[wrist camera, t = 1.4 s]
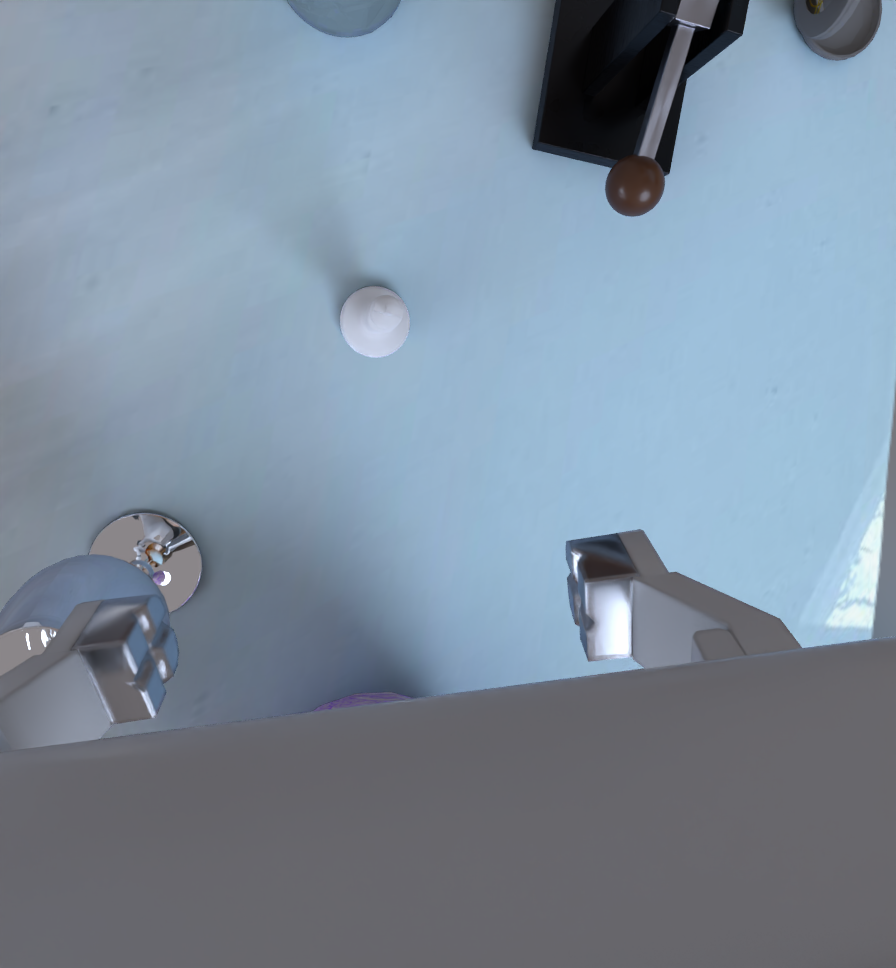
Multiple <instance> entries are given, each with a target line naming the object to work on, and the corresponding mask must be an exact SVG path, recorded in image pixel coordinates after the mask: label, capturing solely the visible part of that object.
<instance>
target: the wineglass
mask: <svg viewBox="0 0 896 968" xmlns="http://www.w3.org/2000/svg"><path fill="white" fill-rule="evenodd" d="M202 568H203V564H202V556H201V552H200V549H199V546H198V544H197V543H196V541H195V539H194V537H193V536H192V535H191V534H190V533H189V531H188V530H187V529H186V528H185V527H183V526H182V525H181V524H179V523H178V522H176V521H174V520H173V519H171V518H169V517H166V516H163V515H159V514H154V513H134V514H130V515H126V516H123V517H121V518H118V519H116V520H114V521H112V522H111V523H110V524H108V525H107V526H106V527H104V528H103V529H102V531H101V532H100V533H99V534H98V535H97V536H96V538H95V540H94V541H93V543H92V545H91V548H90V551H89V554H88V555H78V556H74V557H71V558H67V559H63V560H61V561H59V562H57V563H55V564H53V565H51V566H48V567H46V568H44V569H42V570H41V571H39V572H38V573H37V574H35V575H34V576H32V577H31V578H30V579H29V580H28V581H27V582H25V583H24V584H23V585H22V586H21V587H20V589H19V590H18V591H17V592H16V593H15V594H14V595H13V596H12V597H11V598H10V599H9V601H8V602H7V603H6V604H5V606H4V607H3V609H2V610H1V612H0V676H2V675H3V674H5V673H7V672H8V671H10V670H11V669H13V668H15V667H16V666H18V665H19V664H21V663H23V662H24V661H26V660H27V659H29V658H31V657H32V656H34V655H41V654H42V653H43V652H44V650H45V649H46V647H47V646H48V645H49V643H50V642H51V640H52V639H53V637H54V636H55V635H56V633H57V632H58V630H59V629H60V627H61V626H62V625H63V623H64V622H65V620H66V619H67V617H68V616H69V615H70V613H71V612H72V610H73V609H74V607H75V606H76V605H77V604H80V603H83V602H89V601H96V600H103V599H104V600H107V599H114V598H123V597H132V596H141V595H150V594H156V595H158V596H159V597H161V599H162V601H163V604H164V606H165V608H166V611H167V612H166V614H165V616H164V618H163V622H164V623H166V624H167V625H168V626H170V617H169V613H171V612H173V611H175V610H177V609H179V608H180V607H181V606H183V605H184V604H185V603H186V602H187V601H188V600H189V599H190V598H191V597H192V596H193V594H194V593H195V591H196V589H197V587H198V585H199V582H200V580H201V577H202Z"/></svg>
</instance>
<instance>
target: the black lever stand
mask: <svg viewBox="0 0 896 968" xmlns="http://www.w3.org/2000/svg"><path fill="white" fill-rule="evenodd" d="M748 4H749V0H719V3H718V6H717V9H716V12H715V15H714V18H713V22H712V25H711V28H710V29H708V30H702V31H697V32H694V34H693V38H692V41H691V44H690V47H689V50H688V53H687V57H686V60H685V63H684V66H683V69H682V73H681V76H680V79H679V82H678V85H677V89H676V92H675V95H674V98H673V101H672V104H671V108H670V111H669V114H668V117H667V120H666V124H665V127H664V130H663V133H662V136H661V139H660V143H659V146H658V149H657V152H656V155H655V159H654V160H655V161H656V162H657V163H658V164H659V165H660V166H661V168H662V170H663V173H664V176H666V175H668V174H669V173H670V167H671V162H672V156H673V151H674V146H675V140H676V135H677V129H678V124H679V119H680V113H681V108H682V102H683V97H684V92H685V86H686V81H687V78H689V77H690V76H691V75H693V74H694V73H695V72H696V71H698V70H699V69H700V68H701V67H703V66H704V65H705V64H706V63H708V62H709V61H710V60H711V59H713V58H714V57H715V56H716V55H718V54H719V53H720V52H721V51H723V50H724V49H725V48H727V47H728V46H729V45H730V44H732V43H733V42H734V41H735V40H737V39H738V38H739V37H740V36H742V34H743V30H744V25H745V19H746V14H747V9H748ZM678 5H679V0H556V3H555V9H554V16H553V22H552V28H551V34H550V40H549V47H548V53H547V59H546V65H545V72H544V78H543V84H542V90H541V96H540V103H539V109H538V115H537V121H536V127H535V134H534V140H533V146H532V149H534V150H538V151H543V152H547V153H551V154H555V155H560V156H564V157H568V158H572V159H577V160H581V161H585V162H589V163H593V164H598V165H602V166H606V167H610V168H612V167H613V166H614V165H615V164H616V163H617V162H618V161H619V160H621V159H622V158H624V157H627V156H629V155H633V153H634V150H635V147H636V143H637V140H638V137H639V133H640V130H641V127H642V123H643V120H644V117H645V113H646V110H647V107H648V103H649V100H650V97H651V93H652V90H653V87H654V83H655V80H656V77H657V73H658V70H659V67H660V63H661V60H662V57H663V53H664V50H665V47H666V43H667V40H668V37H669V33H670V30H671V27H670V26H667V25H668V24H669V23H670V22H671V21H672V20H673V19H674V18H675V17H676V15H677V10H678Z"/></svg>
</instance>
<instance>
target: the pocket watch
mask: <svg viewBox="0 0 896 968" xmlns="http://www.w3.org/2000/svg"><path fill="white" fill-rule="evenodd" d="M881 14H882V3H881V0H795V2H794V16H795V21H796V26H797V27H798V29H799V31H800V33H802V36H803V38H804V40H805V42H806V43H807V44H808V46H809V47H810V48H811V49H812V50H813V51H814V52H815V53H817V54H818V55H820V56H821V57H823V58H825V59H829V60H836V61H838V60H845V59H847V58H850V57H854V56H855V55H857V54H858V53H860V52H861V51H862V50H864V49H865V48H866V47H867V46H868V45H869V44H870V42H871V41H872V40H873V38H874V36H875V34H876V32H877V30H878V28H879V25H880V21H881Z"/></svg>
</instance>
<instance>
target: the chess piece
mask: <svg viewBox="0 0 896 968" xmlns="http://www.w3.org/2000/svg"><path fill="white" fill-rule="evenodd" d="M340 327H341V331H342V334H343V337H344V339H345V340H346V342H347V343H348V344H349V346H350V347H351V348H352V349H354V350H355V351H356V352H358V353H360V354H362V355H364V356H367V357H374V358H379V357H385V356H388V355H390V354H392V353H394V352H395V351H397V350H398V349H399V348H400V347H401V346H402V345H403V343H404V342H405V340H406V338H407V336H408V333H409V329H410V317H409V312H408V309H407V307H406V305H405V303H404V302H403V300H402V299H401V298H400V297H399V296H398V295H397V294H396V293H394V292H393V291H391V290H389V289H387V288H384V287H379V286H368V287H364V288H361V289H359V290H357V291H356V292H354V293H353V294H352V295H351V296H350V297H349V298H348V299H347V300H346V302H345V303H344V305H343V307H342V310H341V314H340Z"/></svg>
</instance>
